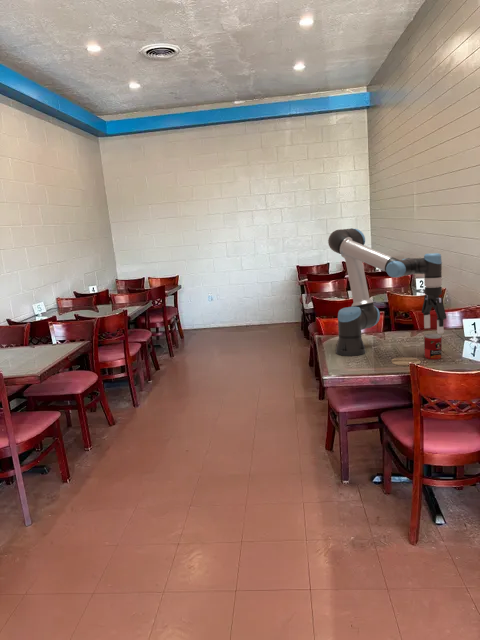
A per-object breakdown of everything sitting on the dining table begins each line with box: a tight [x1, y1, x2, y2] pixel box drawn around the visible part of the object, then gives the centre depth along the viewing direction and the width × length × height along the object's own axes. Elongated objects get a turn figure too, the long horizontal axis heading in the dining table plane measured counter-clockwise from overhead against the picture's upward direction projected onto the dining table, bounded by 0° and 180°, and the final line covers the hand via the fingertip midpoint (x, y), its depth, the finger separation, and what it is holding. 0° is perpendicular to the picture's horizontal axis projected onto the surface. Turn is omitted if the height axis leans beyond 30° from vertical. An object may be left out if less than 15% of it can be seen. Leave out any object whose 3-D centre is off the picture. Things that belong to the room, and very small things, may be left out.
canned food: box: [423, 333, 443, 361], centre depth 230 cm, size 8×8×11 cm
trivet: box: [391, 356, 422, 367], centre depth 226 cm, size 13×13×1 cm
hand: (433, 330), depth 228 cm, fingers open, 13 cm apart
